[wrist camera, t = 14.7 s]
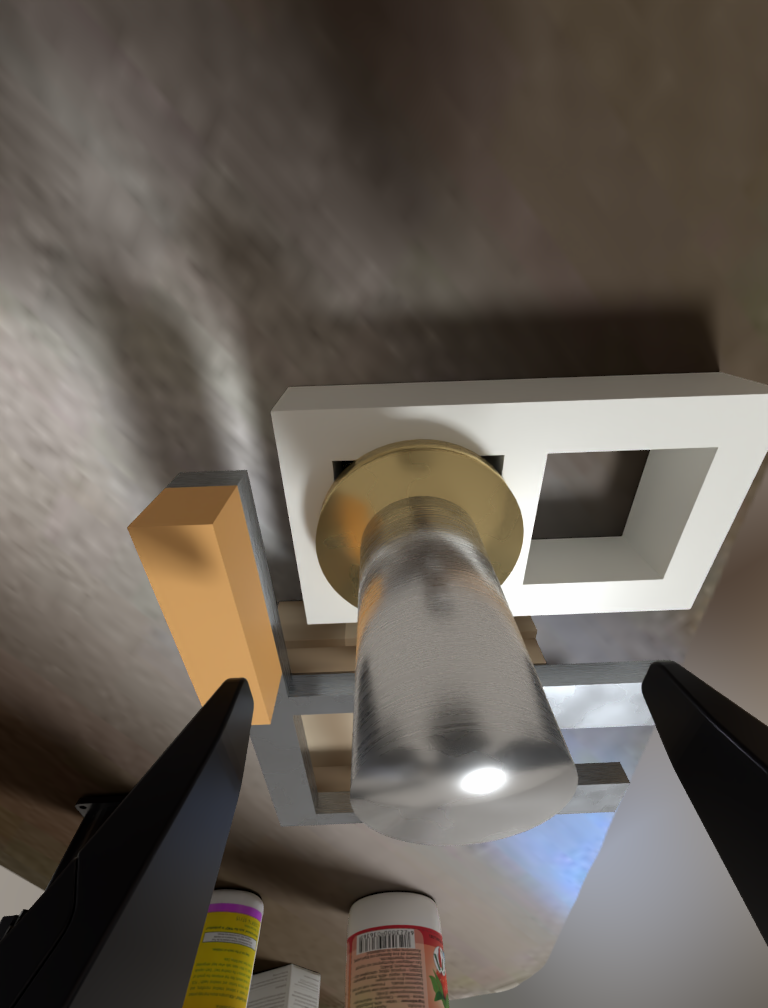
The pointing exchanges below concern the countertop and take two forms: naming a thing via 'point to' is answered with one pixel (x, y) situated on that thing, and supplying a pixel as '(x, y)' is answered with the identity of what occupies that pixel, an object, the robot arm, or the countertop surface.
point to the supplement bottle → (226, 951)
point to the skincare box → (284, 988)
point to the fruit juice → (395, 953)
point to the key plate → (285, 697)
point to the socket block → (333, 655)
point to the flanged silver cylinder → (439, 650)
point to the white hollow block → (521, 462)
